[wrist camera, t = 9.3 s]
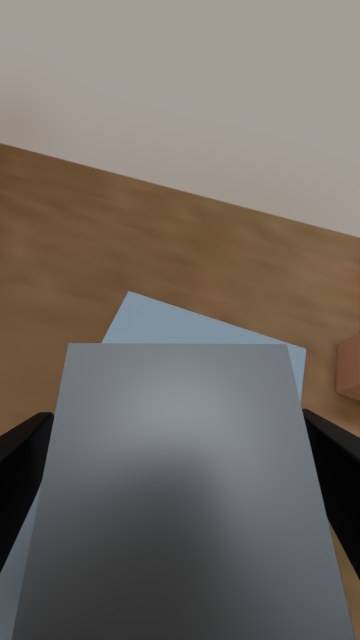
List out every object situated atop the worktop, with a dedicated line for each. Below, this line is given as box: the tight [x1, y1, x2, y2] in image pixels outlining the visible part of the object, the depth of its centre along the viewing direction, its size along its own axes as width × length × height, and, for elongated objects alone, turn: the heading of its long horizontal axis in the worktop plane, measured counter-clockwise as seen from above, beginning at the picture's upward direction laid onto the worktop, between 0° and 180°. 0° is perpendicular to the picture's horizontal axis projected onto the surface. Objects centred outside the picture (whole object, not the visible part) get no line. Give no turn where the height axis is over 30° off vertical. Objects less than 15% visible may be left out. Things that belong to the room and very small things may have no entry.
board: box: [0, 291, 306, 640], centre depth 15 cm, size 20×14×1 cm
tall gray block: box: [11, 343, 355, 640], centre depth 10 cm, size 6×6×10 cm
